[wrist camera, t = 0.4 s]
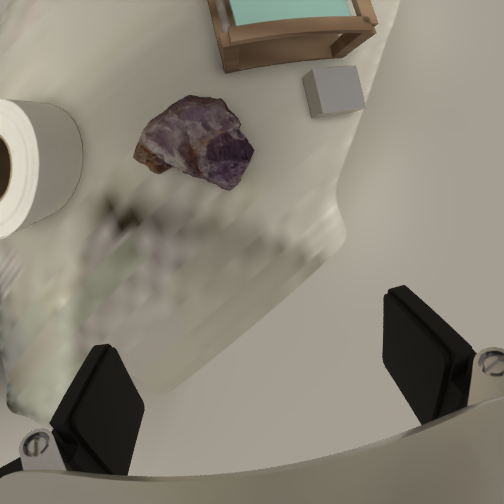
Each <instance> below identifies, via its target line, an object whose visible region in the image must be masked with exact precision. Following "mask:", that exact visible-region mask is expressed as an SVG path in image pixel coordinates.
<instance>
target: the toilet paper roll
mask: <svg viewBox="0 0 504 504" xmlns="http://www.w3.org/2000/svg"><path fill="white" fill-rule="evenodd" d="M82 163H83V148H82V141H81V136H80V133H79V130H78V128H77V126H76V124H75V122H74V121H73V119H72V118H71V117H70V116H69V115H68V114H67V113H66V112H65V111H64V110H62V109H61V108H59V107H57V106H54V105H51V104H44V103H36V102H28V101H19V100H10V99H0V239H3V238H5V237H7V236H9V235H11V234H13V233H15V232H17V231H18V230H21V229H23V228H25V227H27V226H29V225H31V224H33V223H35V222H37V221H39V220H41V219H43V218H46V217H48V216H50V215H51V214H53V213H55V212H56V211H58V210H59V209H60V208H61V207H63V206H64V205H65V204H66V203H67V201H68V200H69V199H70V197H71V196H72V194H73V193H74V191H75V189H76V187H77V184H78V182H79V178H80V175H81V170H82Z"/></svg>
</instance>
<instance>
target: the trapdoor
mask: <svg viewBox="0 0 504 504" xmlns="http://www.w3.org/2000/svg"><path fill="white" fill-rule="evenodd" d="M229 3H230V7H231V11H232V14H233V18H234V22H235V26H239V25H245V24H251V23H258V22H266V21H274V20H283V19H293V18H306V17H326V16H351V14H350V11H349V8H348V5H347V2H346V0H229Z"/></svg>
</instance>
